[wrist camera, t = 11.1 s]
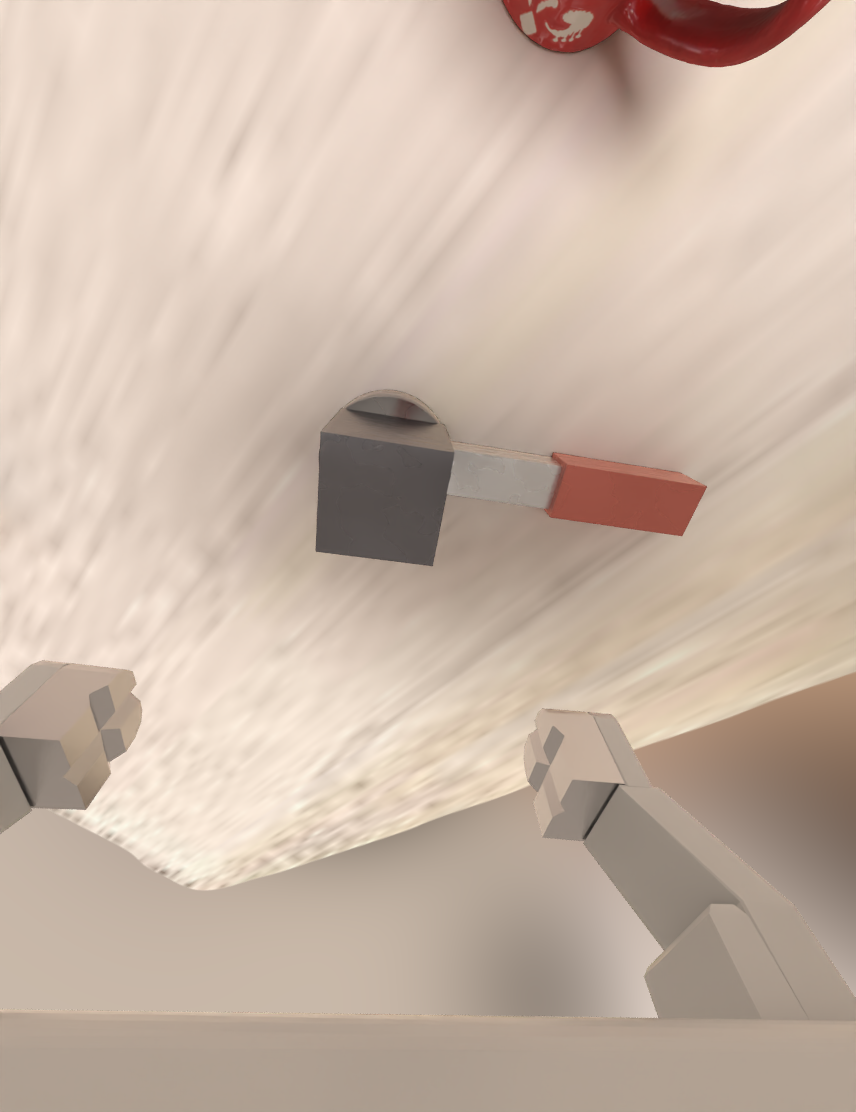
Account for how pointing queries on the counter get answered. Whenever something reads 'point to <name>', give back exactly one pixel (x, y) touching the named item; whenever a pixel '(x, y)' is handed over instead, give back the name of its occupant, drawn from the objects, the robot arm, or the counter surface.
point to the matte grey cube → (382, 486)
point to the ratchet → (557, 479)
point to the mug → (665, 26)
